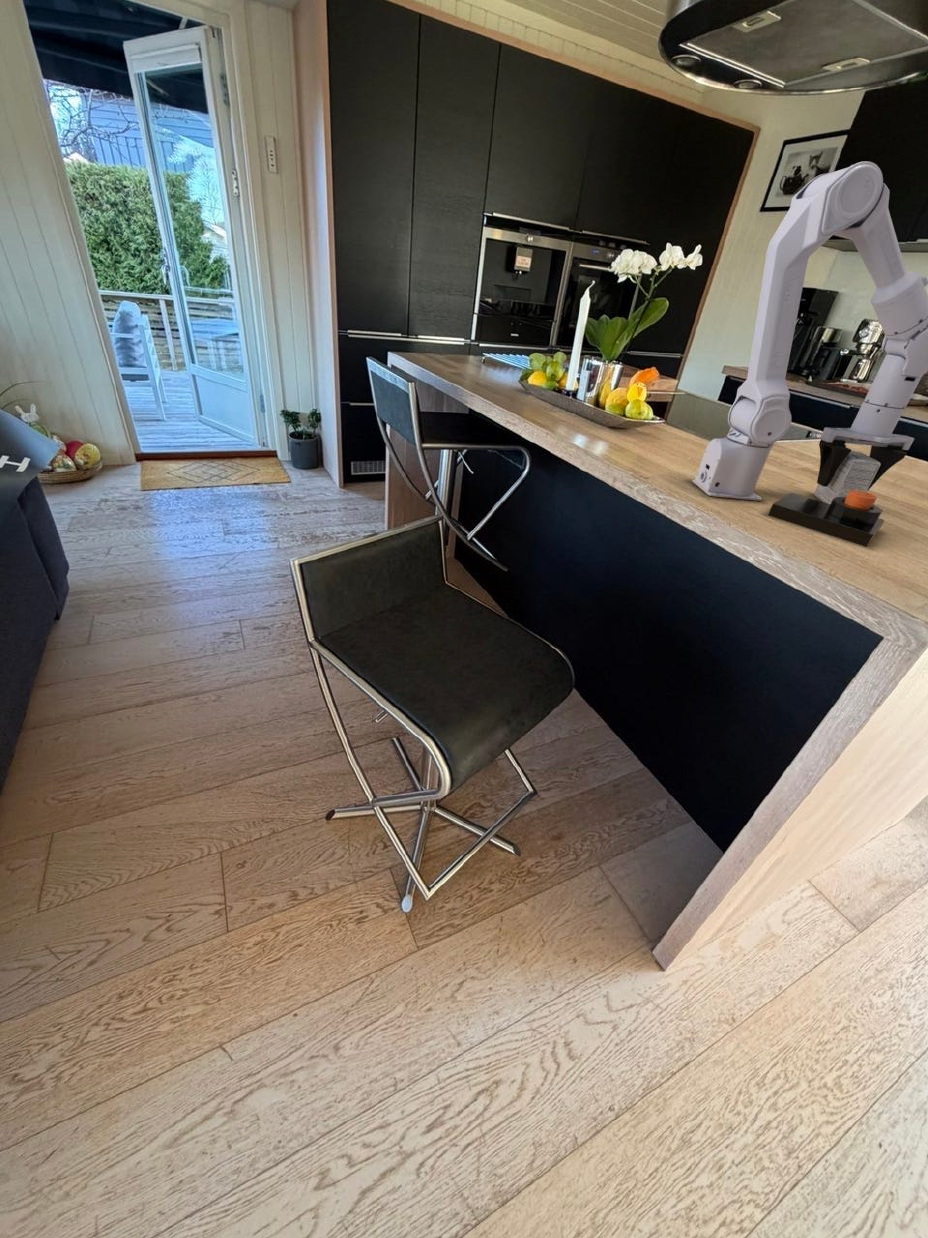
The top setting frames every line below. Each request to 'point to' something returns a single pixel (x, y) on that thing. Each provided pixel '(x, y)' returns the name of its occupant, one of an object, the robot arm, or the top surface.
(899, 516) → the top surface
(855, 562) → the top surface
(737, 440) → the robot arm
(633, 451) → the top surface
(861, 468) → the medicine box
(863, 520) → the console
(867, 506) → the button
